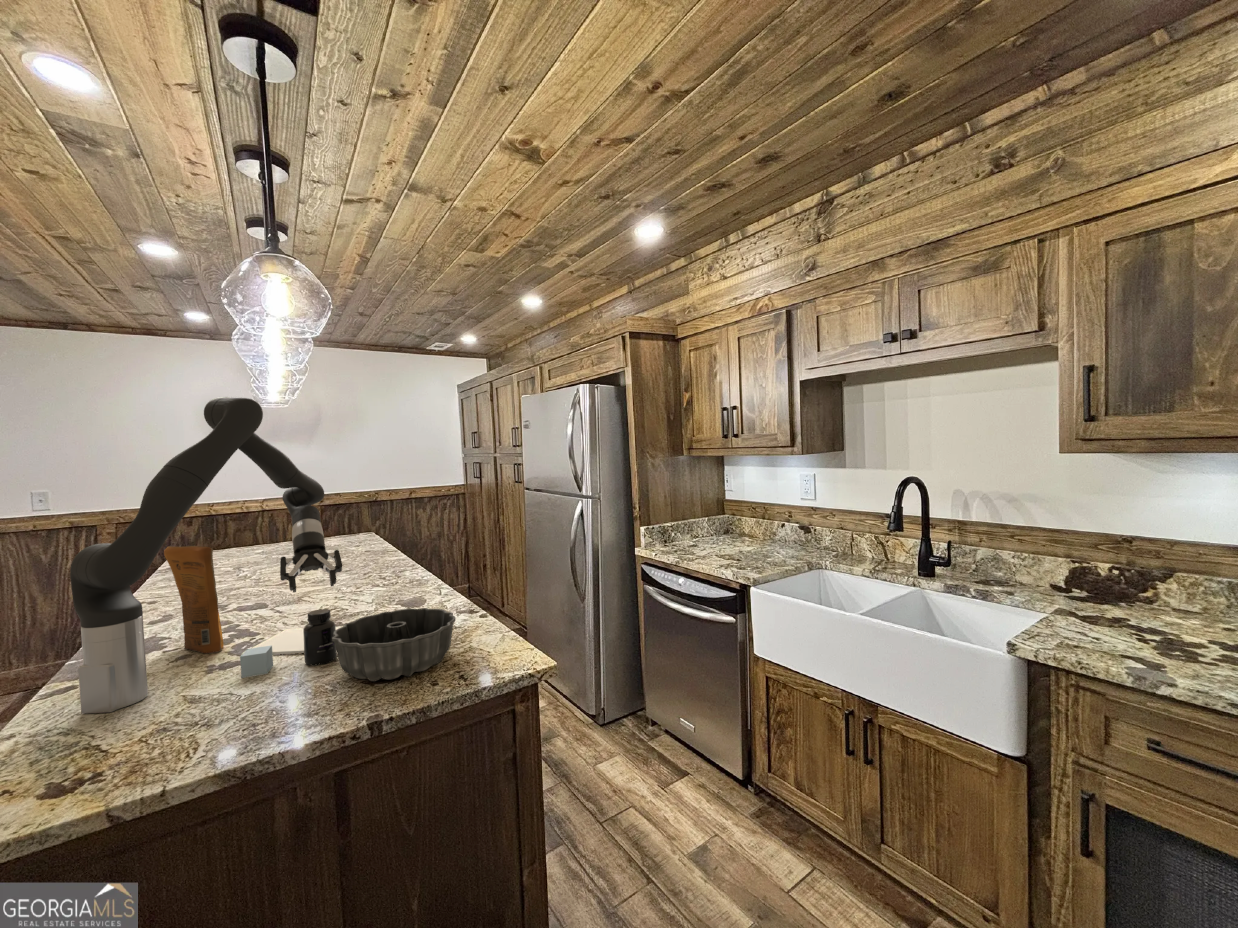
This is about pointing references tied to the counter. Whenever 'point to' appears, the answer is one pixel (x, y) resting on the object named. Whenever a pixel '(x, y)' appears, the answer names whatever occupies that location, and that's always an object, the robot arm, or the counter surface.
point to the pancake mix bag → (197, 596)
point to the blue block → (256, 661)
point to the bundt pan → (394, 643)
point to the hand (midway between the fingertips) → (313, 587)
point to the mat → (286, 642)
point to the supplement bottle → (319, 638)
